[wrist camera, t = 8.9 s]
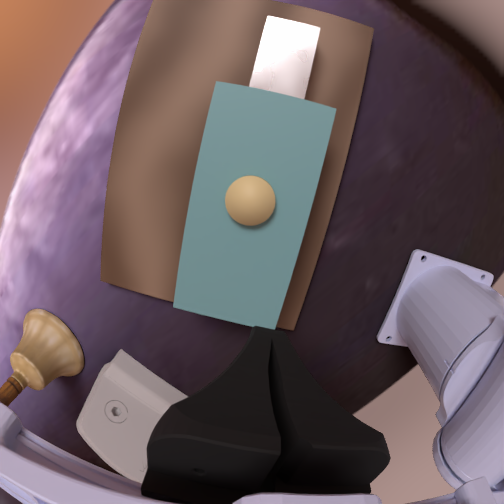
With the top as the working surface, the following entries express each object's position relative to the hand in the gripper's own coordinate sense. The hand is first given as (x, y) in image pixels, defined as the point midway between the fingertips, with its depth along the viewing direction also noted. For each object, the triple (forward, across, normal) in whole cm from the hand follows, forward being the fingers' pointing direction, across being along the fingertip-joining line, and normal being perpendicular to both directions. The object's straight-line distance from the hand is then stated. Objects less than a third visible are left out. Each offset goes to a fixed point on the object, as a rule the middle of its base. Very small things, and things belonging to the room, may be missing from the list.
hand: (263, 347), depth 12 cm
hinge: (+10, +5, +18) cm, 21 cm away
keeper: (+8, +2, -4) cm, 10 cm away
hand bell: (+10, +19, +14) cm, 26 cm away
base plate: (+9, +4, -7) cm, 13 cm away
